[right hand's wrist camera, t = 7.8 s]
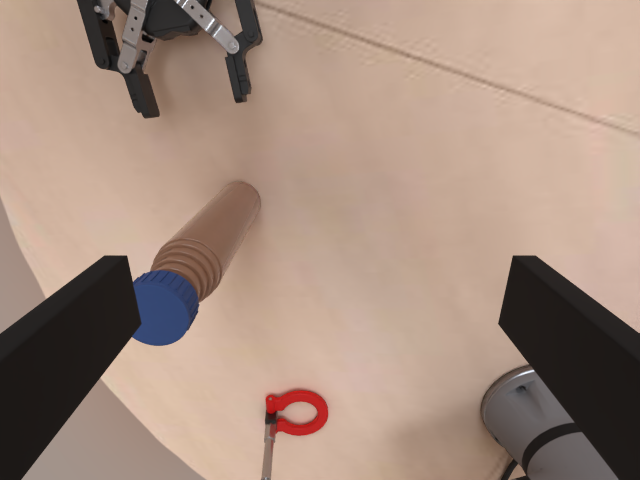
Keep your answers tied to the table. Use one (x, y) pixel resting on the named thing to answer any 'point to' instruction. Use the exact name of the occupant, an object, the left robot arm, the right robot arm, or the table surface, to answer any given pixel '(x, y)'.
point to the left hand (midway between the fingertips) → (196, 109)
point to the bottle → (210, 238)
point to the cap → (164, 307)
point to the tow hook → (282, 425)
